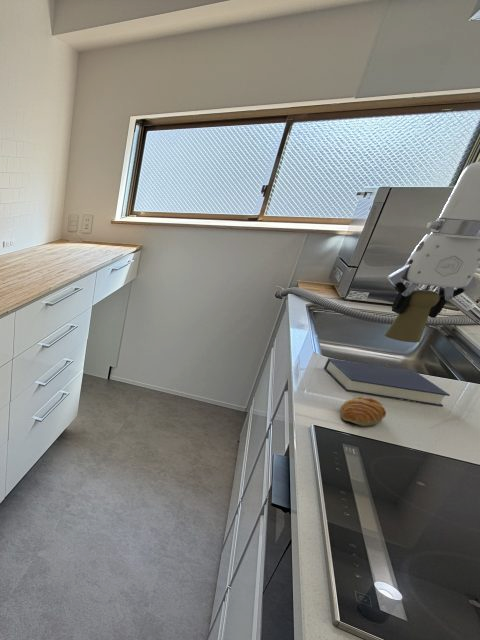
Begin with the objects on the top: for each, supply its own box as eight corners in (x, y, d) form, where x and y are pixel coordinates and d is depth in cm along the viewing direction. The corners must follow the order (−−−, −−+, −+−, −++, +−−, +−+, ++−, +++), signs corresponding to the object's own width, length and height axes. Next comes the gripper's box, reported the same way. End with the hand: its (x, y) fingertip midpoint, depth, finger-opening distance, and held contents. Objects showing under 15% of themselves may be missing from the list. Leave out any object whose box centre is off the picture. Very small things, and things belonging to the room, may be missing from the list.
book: (407, 381, 105) (413, 370, 103) (442, 406, 93) (450, 394, 91) (323, 368, 110) (328, 358, 109) (346, 390, 98) (352, 379, 97)
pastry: (372, 433, 81) (381, 416, 79) (330, 418, 86) (338, 402, 84) (383, 419, 86) (392, 403, 84) (343, 406, 91) (351, 390, 89)
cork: (378, 335, 97) (400, 288, 92) (393, 332, 99) (416, 286, 94) (410, 343, 92) (436, 294, 87) (426, 340, 94) (451, 292, 89)
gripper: (417, 227, 84) (374, 313, 92) (529, 234, 79) (473, 324, 87) (398, 224, 90) (359, 305, 99) (500, 230, 85) (450, 315, 94)
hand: (413, 313), depth 93 cm, fingers closed on cork, 5 cm apart
